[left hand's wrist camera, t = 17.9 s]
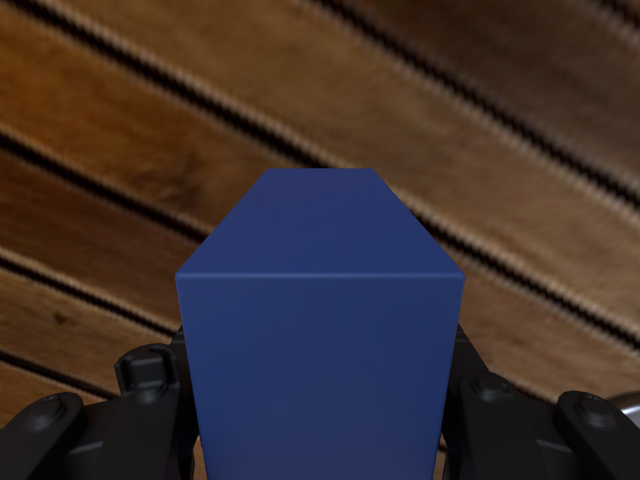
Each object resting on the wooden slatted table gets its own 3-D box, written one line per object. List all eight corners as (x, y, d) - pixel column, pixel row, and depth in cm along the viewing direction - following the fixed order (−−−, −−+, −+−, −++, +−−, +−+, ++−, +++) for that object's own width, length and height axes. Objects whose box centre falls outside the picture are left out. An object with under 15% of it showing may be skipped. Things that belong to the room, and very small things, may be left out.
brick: (267, 168, 15) (171, 273, 6) (373, 168, 15) (468, 274, 6) (275, 336, 19) (224, 597, 9) (364, 336, 19) (415, 597, 9)
